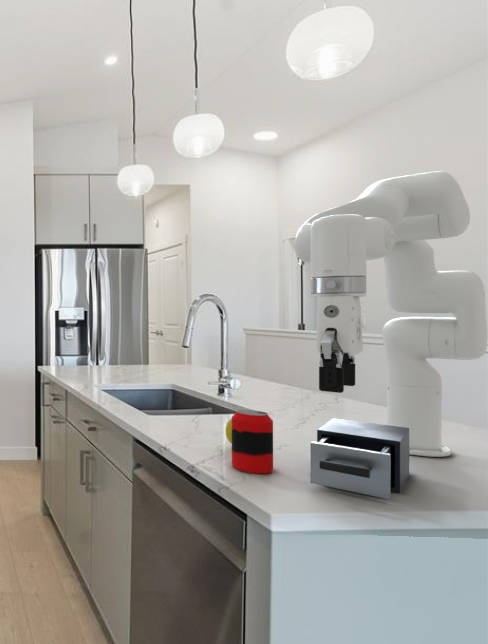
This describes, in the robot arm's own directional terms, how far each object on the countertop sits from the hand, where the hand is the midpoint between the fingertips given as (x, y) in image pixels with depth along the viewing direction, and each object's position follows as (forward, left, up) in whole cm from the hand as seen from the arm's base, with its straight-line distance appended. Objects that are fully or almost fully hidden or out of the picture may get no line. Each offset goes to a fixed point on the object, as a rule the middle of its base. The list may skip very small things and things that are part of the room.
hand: (337, 388), depth 86 cm
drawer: (-13, 0, -20) cm, 24 cm away
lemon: (-27, -24, -21) cm, 42 cm away
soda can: (-13, -17, -21) cm, 30 cm away
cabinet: (-24, 0, -21) cm, 32 cm away
